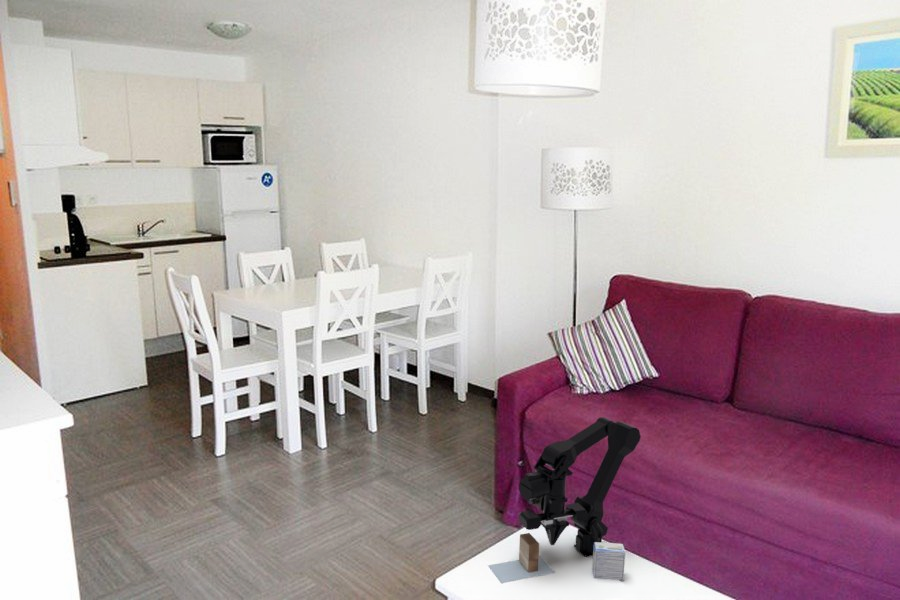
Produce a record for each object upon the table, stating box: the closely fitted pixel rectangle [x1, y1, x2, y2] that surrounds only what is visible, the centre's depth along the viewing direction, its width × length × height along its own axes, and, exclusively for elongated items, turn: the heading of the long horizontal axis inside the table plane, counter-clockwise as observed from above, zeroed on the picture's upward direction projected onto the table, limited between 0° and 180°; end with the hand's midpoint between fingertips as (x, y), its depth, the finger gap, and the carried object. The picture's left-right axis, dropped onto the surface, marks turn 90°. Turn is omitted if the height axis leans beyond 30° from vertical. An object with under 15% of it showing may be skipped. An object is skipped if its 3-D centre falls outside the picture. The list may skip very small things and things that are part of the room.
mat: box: [487, 555, 556, 584], centre depth 189 cm, size 16×9×1 cm, turn 110°
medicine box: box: [591, 541, 626, 582], centre depth 187 cm, size 8×4×9 cm, turn 84°
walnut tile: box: [518, 532, 540, 573], centre depth 190 cm, size 3×6×8 cm, turn 20°
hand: (551, 544), depth 192 cm, fingers closed
